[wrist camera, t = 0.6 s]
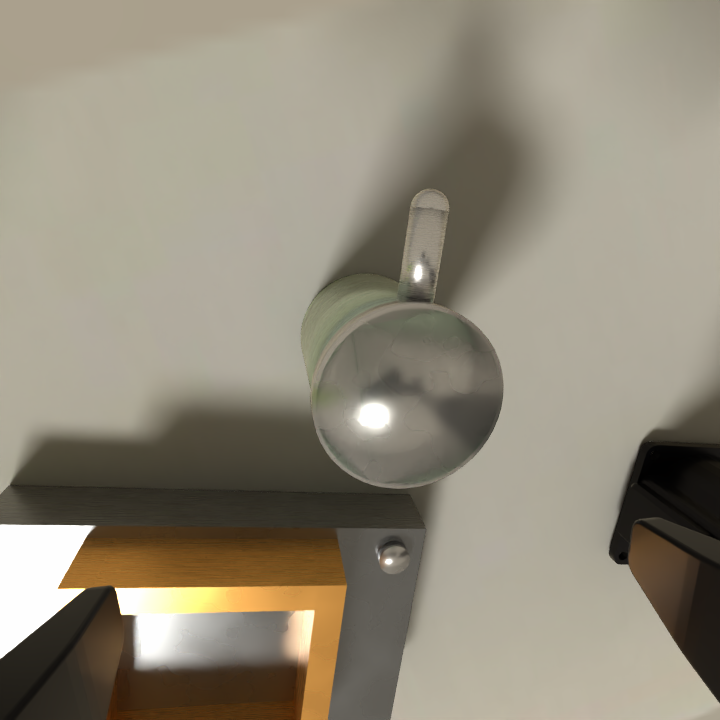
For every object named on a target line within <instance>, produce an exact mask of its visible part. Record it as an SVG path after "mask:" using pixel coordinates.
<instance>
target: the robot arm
mask: <svg viewBox="0 0 720 720" xmlns="http://www.w3.org/2000/svg"><path fill="white" fill-rule="evenodd" d="M653 451H654V452H653ZM652 452H653V454H651V453H652ZM609 555H610V557H611V558H612V559H613V560H614V561H615V562H616V563H617V564H629V567H630V570H631V572H632V574H633V575H634V577H635V579H636V580H637V582H638V583H639V585H640V587H641V588H642V590H643V591H644V593H645V595H646V596H647V598H648V599H649V601H650V603H651V604H652V606H653V607H654V609H655V611H656V612H657V614H658V615H659V617H660V619H661V620H662V622H663V623H664V625H665V627H666V628H667V630H668V631H669V633H670V635H671V636H672V638H673V639H674V641H675V642H676V644H677V645H678V647H679V648H680V650H681V651H682V653H683V654H684V656H685V657H686V658H687V660H688V661H689V663H690V664H691V665H692V667H693V668H694V670H695V671H696V672H697V674H698V675H699V676H700V678H701V679H702V680H703V682H704V683H705V684H706V686H707V687H708V688H709V690H710V691H711V692H712V694H713V695H714V696H715V698H716V699H717V700H718V702H719V703H720V445H717V444H697V443H677V442H657V441H651V442H647V443H645V444H644V445H643V446H642V447H641V449H640V452H639V455H638V459H637V462H636V465H635V468H634V472H633V475H632V478H631V481H630V485H629V488H628V491H627V494H626V498H625V501H624V504H623V508H622V511H621V514H620V517H619V521H618V524H617V527H616V530H615V534H614V537H613V540H612V543H611V547H610V550H609ZM123 641H124V624H123V619H122V614H121V610H120V605H119V600H118V595H117V592H116V590H115V588H114V587H113V586H111V585H107V586H99V587H91V588H87V589H85V590H83V591H82V592H81V593H79V594H78V595H77V596H76V597H74V598H73V599H72V600H71V601H70V602H68V603H67V604H66V605H65V606H64V607H62V608H61V609H60V610H59V611H57V612H56V613H55V614H54V615H53V616H51V617H50V618H49V619H48V620H47V621H45V622H44V623H43V624H42V625H40V626H39V627H38V628H37V629H36V630H34V631H33V632H32V633H31V634H30V635H28V636H27V637H26V638H25V639H23V640H22V641H21V642H20V643H19V644H17V645H16V646H15V647H14V648H13V649H11V650H10V651H9V652H8V653H6V654H5V655H4V656H3V657H2V658H0V720H106V718H107V714H108V709H109V705H110V700H111V696H112V691H113V687H114V682H115V678H116V673H117V669H118V664H119V660H120V655H121V651H122V646H123Z"/></svg>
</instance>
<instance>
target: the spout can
mask: <svg viewBox="0 0 720 720" xmlns="http://www.w3.org/2000/svg"><path fill="white" fill-rule="evenodd" d="M448 215H449V202H448V199H447V198H446V196H445V195H444V194H443V193H442V192H441V191H439V190H437V189H425V190H422V191H420V192H419V193H418V194H417V195H415V197H414V198H413V200H412V202H411V206H410V212H409V219H408V225H407V232H406V239H405V246H404V253H403V259H402V266H401V273H400V280H399V283H398V282H396V281H394V280H392V279H390V278H388V277H385V276H382V275H377V274H368V273H362V274H354V275H349V276H346V277H343V278H341V279H338V280H336V281H335V282H333V283H331V284H330V285H328V286H327V287H325V288H324V289H323V290H322V291H321V292H320V293H319V294H318V295H317V296H316V297H315V298H314V300H313V301H312V303H311V304H310V306H309V307H308V309H307V312H306V314H305V316H304V319H303V323H302V328H301V347H302V352H303V357H304V361H305V366H306V371H307V375H308V380H309V384H310V389H311V392H310V402H311V411H312V416H313V421H314V425H315V429H316V433H317V435H318V437H319V440H320V442H321V444H322V446H323V447H324V449H325V451H326V453H327V454H328V455H329V456H330V458H331V459H332V460H333V461H334V462H335V463H336V464H337V465H338V466H339V467H340V468H341V469H342V470H344V471H345V472H347V473H348V474H349V475H351V476H352V477H354V478H356V479H358V480H360V481H362V482H365V483H368V484H371V485H374V486H379V487H384V488H394V489H402V488H413V487H420V486H423V485H427V484H431V483H433V482H436V481H438V480H441V479H443V478H445V477H447V476H449V475H451V474H452V473H454V472H456V471H457V470H458V469H460V468H461V467H463V466H464V465H465V464H466V463H467V462H469V461H470V460H471V459H472V458H473V457H474V456H475V455H476V454H477V453H478V452H479V451H480V449H481V448H482V447H483V445H484V444H485V443H486V441H487V440H488V438H489V436H490V435H491V433H492V431H493V429H494V427H495V425H496V422H497V420H498V417H499V414H500V410H501V406H502V399H503V376H502V370H501V366H500V362H499V359H498V357H497V354H496V352H495V350H494V348H493V346H492V345H491V343H490V341H489V340H488V338H487V337H486V336H485V335H484V334H483V332H482V331H481V330H480V329H479V328H478V327H477V326H475V325H474V324H473V323H472V322H471V321H469V320H468V319H466V318H465V317H463V316H462V315H460V314H458V313H456V312H455V311H453V310H451V309H448V308H446V307H444V306H442V305H439V304H435V303H434V298H435V292H436V286H437V281H438V275H439V269H440V263H441V257H442V251H443V245H444V239H445V233H446V227H447V221H448Z"/></svg>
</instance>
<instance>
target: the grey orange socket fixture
mask: <svg viewBox="0 0 720 720" xmlns="http://www.w3.org/2000/svg"><path fill="white" fill-rule="evenodd" d="M425 532H426V528H425V526H424V523H423V521H422V519H421V517H420V515H419V513H418V511H417V509H416V507H415V505H414V503H413V501H412V498H411V496H410V495H394V494H351V493H308V492H265V491H223V490H180V489H137V488H94V487H51V486H8V487H7V488H6V489H5V490H4V491H3V492H2V493H1V494H0V658H2V657H3V656H4V655H5V654H6V653H8V652H9V651H10V650H11V649H13V648H14V647H15V646H16V645H17V644H19V643H20V642H21V641H22V640H23V639H25V638H26V637H27V636H28V635H30V634H31V633H32V632H33V631H34V630H36V629H37V628H38V627H39V626H40V625H42V624H43V623H44V622H45V621H47V620H48V619H49V618H50V617H51V616H53V615H54V614H55V613H56V612H57V611H59V610H60V609H61V608H62V607H64V606H65V605H66V604H67V603H68V602H70V601H71V600H72V599H73V598H74V597H76V596H77V595H78V594H79V593H81V592H82V591H83V590H85V589H87V588H91V587H99V586H107V585H111V586H113V587H114V588H115V590H116V592H117V595H118V600H119V605H120V610H121V614H122V619H123V624H124V641H123V646H122V651H121V655H120V660H119V664H118V669H117V673H116V678H115V682H114V687H113V691H112V696H111V700H110V705H109V709H108V714H107V718H106V720H390V719H391V713H392V708H393V703H394V697H395V692H396V687H397V681H398V676H399V671H400V665H401V660H402V655H403V649H404V644H405V639H406V633H407V628H408V623H409V617H410V612H411V607H412V601H413V596H414V591H415V585H416V580H417V575H418V570H419V564H420V559H421V554H422V548H423V543H424V538H425Z"/></svg>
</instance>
